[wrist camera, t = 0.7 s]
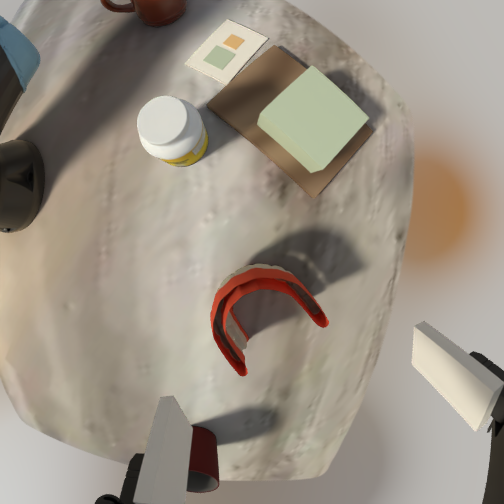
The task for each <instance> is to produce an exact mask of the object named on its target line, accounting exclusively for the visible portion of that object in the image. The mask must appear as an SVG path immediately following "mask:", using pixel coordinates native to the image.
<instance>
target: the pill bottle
mask: <svg viewBox="0 0 504 504" xmlns="http://www.w3.org/2000/svg"><path fill="white" fill-rule="evenodd" d="M137 128H138V131H139V135H140V140H141V143H142V145H143V147H144V148H145V149H146V151H147V152H148V153H150V154H151V155H153V156H154V157H156V158H159V159H161V160H163V161H165V162H167V163H168V164H170V165H173V166H177V167H186V166H190V165H192V164H194V163H196V162H197V161H199V160H200V159H201V158H202V157H203V155H204V154H205V152H206V150H207V147H208V134H207V131H206V129H205V126H204V123H203V121H202V118H201V116H200V114H199V112H198V111H197V109H196V108H195V107H194V106H193V105H192V104H190V103H189V102H187V101H185V100H181V99H178V98H176V97H173V96H159V97H156V98H154V99H152V100H150V101H149V102H148V103H147V104H145V105H144V107H143V108H142V109H141V111H140V113H139V115H138V119H137Z"/></svg>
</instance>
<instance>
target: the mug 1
mask: <svg viewBox="0 0 504 504" xmlns="http://www.w3.org/2000/svg"><path fill="white" fill-rule="evenodd" d="M130 1H131V2H132V3H129V4H125V5H117V4H114V3H113V2H111V1H110V0H101V4H102V5H103V6H104V7H105V8H106V9H108V10H110V11H113V12H125V13H130V12H136V13H137V15H138V17H139V18H140V19H141V20H142V21H143V22H144V23H145V24H147V25H150V26H163V25H167V24H170V23H172V22H174V21H176V20H177V19H179V18H180V17H181V16H182V15H183V14H184V12H185V10H186V5H187V2H186V1H187V0H130Z"/></svg>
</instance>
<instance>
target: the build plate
mask: <svg viewBox="0 0 504 504" xmlns="http://www.w3.org/2000/svg"><path fill="white" fill-rule="evenodd" d="M306 70H307V69H306V68H305V67H303V66H302V65H301V64H300V63H298V62H297V61H296V60H294V59H293V58H292V57H290V56H289V55H288V54H286V53H285V52H284V51H282V50H281V49H279V48H278V47H277V46H275V45H273V46H272V47H271V48H270V49H268V50H267V51H266V52H265V53H263V54H262V55H261V56H260V57H258V58H257V59H256V60H255V61H254V62H252V63H251V64H250V65H249V66H248V67H247V68H245V69H244V70H243V71H242V72H241V73H240V74H239V75H237V76H236V77H235V78H234V79H233V80H232V81H231V82H230V83H229V84H228V85H227V86H225V87H224V88H223V89H222V90H221V91H220V92H219V93H218V94H217V95H216V96H215V97H214V98H213V99H212V100H211V101H210V102H209V103H208V104H207V107H208V108H209V109H210V110H211V111H213V112H214V113H215V114H216V115H218V116H219V117H220V118H222V119H223V120H224V121H225V122H227V123H228V124H229V125H230V126H232V127H233V128H234V129H235V130H236V131H238V132H239V133H240V134H241V135H242V136H244V137H245V138H246V139H247V140H248V141H250V142H251V143H252V144H253V145H254V146H256V147H257V148H258V149H259V150H260V151H261V152H263V153H264V154H265V155H266V156H267V157H268V158H269V159H271V160H272V161H273V162H274V163H275V164H276V165H277V166H278V167H280V168H281V169H282V170H283V171H284V172H285V173H286V174H287V175H288V176H289V177H290V178H292V179H293V180H294V181H295V182H296V183H297V184H298V185H299V186H300V187H301V188H302V189H303V190H304V191H305V192H306V193H308V194H309V195H310V196H311V197H312V198H316V197H317V195H318V194H319V193H320V192H321V191H322V190H323V189H324V187H325V186H326V185H327V184H328V183H329V182H330V181H331V179H332V178H333V177H334V176H335V175H336V174H337V173H338V171H339V170H340V169H341V168H342V167H343V166H344V165H345V163H346V162H347V161H348V160H349V159H350V158H351V157H352V155H353V154H354V153H355V152H356V151H357V150H358V149H359V147H360V146H361V145H362V144H363V143H364V142H365V140H366V139H367V138H368V137H369V136H370V135H371V133H372V132H373V131H372V130H371V129H370V128H369V126H368V125H367V124H366V123H364V125H363V126H362V127H361V128H360V129H359V130H358V131H357V132H356V134H355V135H354V136H353V137H352V138H351V139H350V140H349V141H348V142H347V144H346V145H345V146H344V147H343V148H342V149H341V150H340V151H339V153H338V154H337V155H336V156H335V157H334V158H333V159H332V160H331V161H330V163H329V164H328V165H327V166H326V167H325V168H324V169H323V170H319V171H316V172H313V173H310V172H309V171H308V170H307V169H306V168H305V167H304V166H303V165H302V164H301V163H300V162H299V161H298V160H297V159H295V158H294V157H293V156H292V155H291V154H290V153H289V152H288V151H287V150H285V149H284V148H283V147H282V146H281V145H280V144H279V143H278V142H276V141H275V140H274V139H273V138H272V137H271V136H270V135H268V134H267V133H266V132H265V131H264V130H262V129H261V128H260V127H259V126H258V125H257V122H258V119H259V116H260V113H261V112H262V111H263V110H264V109H265V108H266V107H267V106H268V105H269V104H270V103H271V102H272V101H273V100H274V99H275V98H276V97H277V96H278V95H279V94H281V93H282V92H283V91H284V90H285V89H286V88H287V87H288V86H289V85H290V84H291V83H292V82H294V81H295V80H296V79H297V78H298V77H299V76H300V75H301V74H303V73H304V72H305V71H306Z"/></svg>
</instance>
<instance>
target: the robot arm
mask: <svg viewBox="0 0 504 504" xmlns="http://www.w3.org/2000/svg"><path fill="white" fill-rule="evenodd" d="M39 64H40V54H39V52H38V50H37V49H36V47H35V46H34V45H33V44H32V43H31V42H30V41H29V40H28V39H27V38H26V37H25V36H24V35H23V34H22V33H21V32H20V31H19V30H18V29H17V28H16V27H15V26H13V25H12V24H10V23H8V21H6V20H5V19H4V18H3V17H1V16H0V135H1V132H2V130H3V128H4V126H5V124H6V122H7V120H8V119H9V117H10V115H11V113H12V111H13V109H14V108H15V106H16V104H17V102H18V101H19V99H20V97H21V96H22V94H23V93H25V91H26V87H27V85H28V83H29V82H30V80H31V78H32V77H33V75H34V74H35V72H36V70H37V69H38V67H39ZM43 190H44V167H43V161H42V158H41V155H40V153H39V151H38V149H37V148H36V147H35V146H34V145H33V144H32V143H30V142H28V141H23V140H11V141H9V142H5V143H2V144H0V231H1V232H5V233H12V232H16V231H20V230H23V229H24V228H26V227H27V226H28V225H29V224H30V223H31V222H32V221H33V219H34V218H35V216H36V214H37V212H38V209H39V207H40V204H41V200H42V196H43ZM412 365H413V366H414V367H415V368H416V369H417V370H418V371H419V372H420V373H421V374H422V375H423V376H424V377H425V378H426V379H427V380H428V381H429V382H430V384H431V385H433V387H434V388H435V389H436V390H437V391H438V392H439V393H440V394H441V395H442V396H443V397H444V398H445V399H446V400H447V401H448V402H449V404H451V406H452V407H453V408H454V409H455V410H456V411H457V412H458V413H459V414H460V415H461V416H462V417H463V419H465V421H466V422H467V423H468V424H469V425H470V426H471V427H472V428H473V429H474V431H475V432H476V431H478V430H479V429H480V428H481V427H482V426H484V425H485V424H486V423H487V421H488V419H489V417H490V415H491V416H492V417H493V420H492V422H491V424H490V426H489V428H488V431H487V432H489V431H490V430H491V428H492V440H491V452H490V462H489V470H488V476H487V483H486V488H485V493H484V498H483V502H482V504H504V371H503V370H502V369H501V368H499V367H498V366H497V365H495V364H493V362H492V361H490V360H488V358H486V357H485V356H483V355H482V354H480V353H477V352H474V351H473V352H471V353H470V354H468V353H466V352H465V351H464V350H463V349H461V348H460V347H459V346H457V345H456V344H455V343H453V342H452V341H451V340H449V339H448V338H447V337H445V336H444V335H443V334H441V333H440V332H438V331H437V330H436V329H435V328H433V327H432V326H430V325H429V324H428V323H426V322H425V321H423V322H421V323H419V324H417V325H415V326H414V338H413V352H412ZM192 432H193V428H192V426H191V424H190V423H189V421H188V419H187V418H186V416H185V414H184V413H183V411H182V409H181V408H180V406H179V404H178V402H177V401H176V399H175V397H174V396H166V397H160V401H159V404H158V407H157V411H156V414H155V418H154V421H153V425H152V429H151V432H150V436H149V439H148V443H147V447H146V451H145V454H138V453H136V454H135V455H134V457H133V458H132V459H131V460H130V463H129V466H128V471H127V473H126V478H125V480H124V484H123V487H122V491H121V495H120V498H118V497H116V496H114V495H110V494H106V495H103V496H101V497H99V498H98V499H97V500H96V502H95V504H185V499H186V489H187V478H188V469H189V459H190V450H191V441H192Z"/></svg>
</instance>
